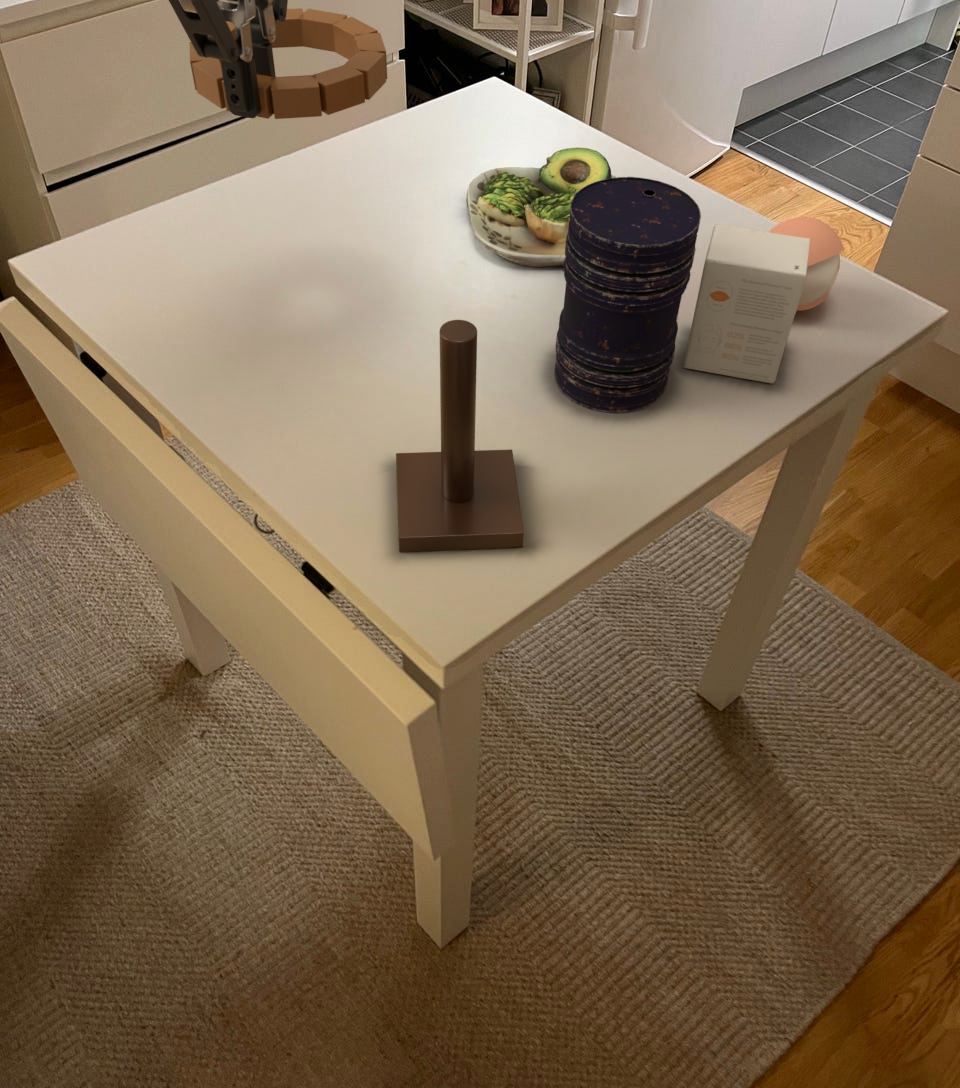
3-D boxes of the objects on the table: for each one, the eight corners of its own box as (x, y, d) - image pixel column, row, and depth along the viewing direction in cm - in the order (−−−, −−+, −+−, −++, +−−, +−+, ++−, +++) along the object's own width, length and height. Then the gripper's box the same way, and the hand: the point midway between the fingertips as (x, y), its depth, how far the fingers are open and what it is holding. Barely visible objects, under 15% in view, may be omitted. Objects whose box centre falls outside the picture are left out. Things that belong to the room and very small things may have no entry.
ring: (196, 124, 69) (190, 93, 67) (193, 41, 77) (188, 13, 76) (397, 112, 71) (396, 82, 69) (372, 32, 79) (371, 4, 78)
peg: (399, 552, 72) (388, 377, 60) (396, 467, 78) (386, 291, 65) (522, 547, 73) (536, 373, 60) (511, 463, 78) (522, 287, 66)
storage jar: (643, 428, 81) (675, 260, 69) (534, 391, 84) (547, 224, 72) (684, 361, 87) (720, 196, 75) (580, 329, 89) (599, 164, 77)
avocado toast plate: (661, 285, 94) (669, 240, 90) (472, 287, 93) (472, 241, 89) (632, 181, 105) (638, 137, 102) (464, 181, 105) (464, 137, 101)
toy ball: (783, 338, 89) (808, 257, 83) (725, 295, 93) (744, 215, 87) (846, 310, 92) (875, 230, 86) (787, 270, 96) (810, 190, 89)
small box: (780, 348, 88) (814, 237, 80) (774, 386, 85) (809, 275, 76) (690, 331, 89) (714, 221, 81) (680, 369, 86) (705, 257, 78)
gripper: (208, -242, 61) (251, 60, 75) (82, -188, 53) (156, 140, 67) (319, -229, 60) (342, 77, 74) (208, -171, 52) (257, 161, 65)
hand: (253, 106), depth 70 cm, fingers closed on ring, 2 cm apart
